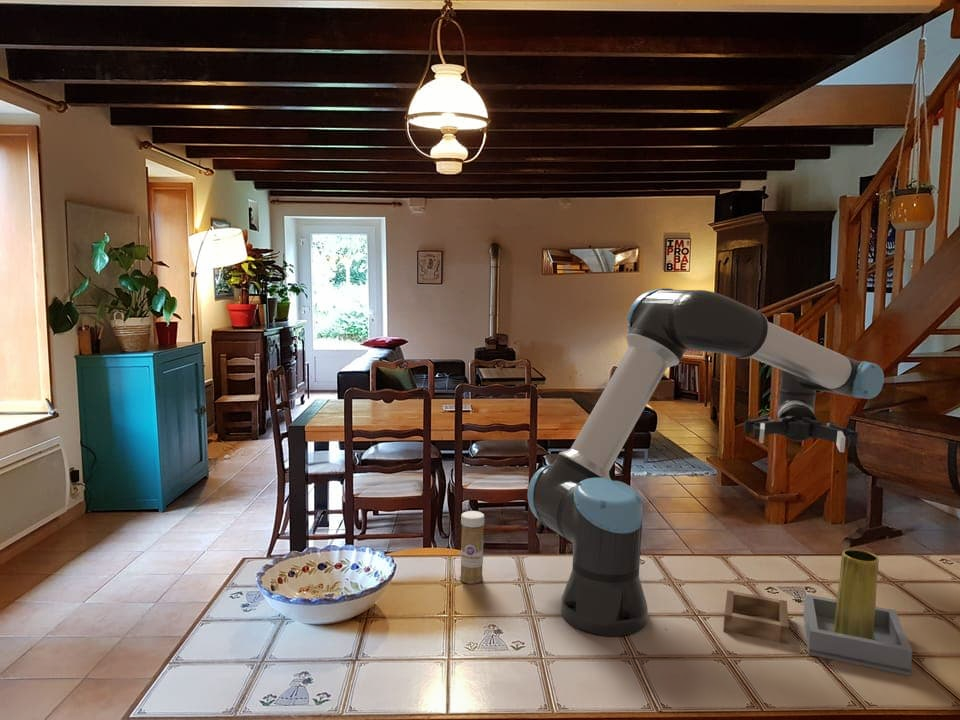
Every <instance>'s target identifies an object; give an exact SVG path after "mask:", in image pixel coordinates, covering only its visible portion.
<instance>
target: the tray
mask: <svg viewBox="0 0 960 720" xmlns="http://www.w3.org/2000/svg"><path fill="white" fill-rule="evenodd" d="M836 603H837V599H834V598H829V597H823V596H817V595H811V594H806V593H805V594H804V606H803V621H804V622H805V623H804V622H803V623H804V630H806V631H805V639H806V644H807V645H806V646H807V653H808V655H809V656H814V657H818V658H823V659H828V660H834V661H838V662H843V663H847V664H853V665H857V666H861V667H866V668H870V669H871V668H872V669H876V670H881V671H885V672H891V673H895V674H900V675H904V676H911V670H912V661H913V649H912V646H911V644H910V641H909V639H908V637H907V634H906V632H905V630H904V627H903V625H902V621H901V619H900V618H899V615H898V613H897V610H896V609H890V608H886V607H885V608H884V607H879V606H876V607H875V618H874V639H875V640H871V639H866V638H861V637H856V636H851V635H845V634H840V633H835V632H833V627H834V624H835V612H836Z"/></svg>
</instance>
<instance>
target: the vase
mask: <svg viewBox="0 0 960 720" xmlns="http://www.w3.org/2000/svg"><path fill="white" fill-rule="evenodd" d="M879 559H880V558H879V557H878V555H876V554H874V553H872V552H870V551H866V550H863V549H856V548H848V549H847V548H846V549H844V550H843V551H842V553H841V560H840V570H839V571H840V572H839V578H838V579H839V581H838V582H839V583H838V588H837V589H838V590H837V595H836V596H837V597H836V600H837V603H836V612H835V624H834V627H833V632H835V633H840V634H845V635H851V636H856V637H861V638H866V639H871V640H875V639H874V618H875V607H877V606H876V604H877V603H876V602H877V586H878V585H877V584H878V574H879Z"/></svg>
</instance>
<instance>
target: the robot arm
mask: <svg viewBox="0 0 960 720" xmlns="http://www.w3.org/2000/svg"><path fill="white" fill-rule="evenodd" d="M627 321H628V324H627V329H628V332H627V334H626V336H625V339H626V342H627V346H628V347H627V350H626V351H625V353H624V355H623V356H622V358H621V360H620V362H619V363H618V365H617V367H616V369H615V370H614V372H613V374H612V375H611V377H610V380H609V381H608V383H607V385H606V386H605V388H604V390H603V392H602V393H601V395H600V397H599V398H598V400H597V402H596V404H595V405H594V407H593V409H592V410H591V411H590V412H591V413H590V414H589V415H588V418H587V420H586V421H585V423H584V425H582V428H581V430H580V431H579V433H578V434H577V437H576V439H575V440H574V442H573V443H572V445H571V447H570V448H569V449H568V450H564V451H560V452H559V453H558V455H556V458H555V459H554V461H553V463H552V464H547V465H545V466H544V467H543V466H542V467H541V468H539V469H538V470H537V471H535V473H534V474H533V475H532V477H531V479H530V482H529V483H528V488H527V500H528V501H527V503H528V506H529V509H530V511H531V513H532V515H534V517H535V518H536V519H537V520H539V521H540V523H541V524H542V525H543V526H544V527H547V528H548V529H550V530H552V531H554V532H555V533H557V534H558V535H560V536H561V537H563V538H565V539H566V540H567V541H569V542H571V543H572V569H571V572H570V575H569V578H568V579H567V582H566V584H565V585H566V586H565V589H564V591H563V593H562V595H561V600H560V601H561V602H560V603H561V606H560V612H561V616H562V617H563V619H564V620H565V621H566V622H567V623H568V624H570V625H571V626H572V627H574V628H576V629H577V630H581V631H584V632H586V633H589V634H594V635H598V636H605V637H621V636H622V637H623V636H626V635H628V636H629V635H632V634H636V633H638V632H639V631H641V630H642V629H644V628H645V626H646V625H647V622H648V613H649V609H648V608H649V607H648V604H647V600H646V597H645V593H644V589H643V586H642V583H641V579H640V563H641V549H642V547H641V546H642V532H643V520H644V513H643V501H642V498H641V495H640V494H639V493H638V491H637V490H636V489H635V488H633V487H632V486H631V485H628V484H627V483H625V482H623V481H619V480H612V478H611V477H610V470H611V469H612V467H613V465H614V464H615V462H616V460H617V458H618V457H619V454H620V453H621V451H622V450H623V447H624V445H625V443H626V442H627V440H628V438H629V436H630V434H631V433H632V431H633V429H634V428H635V425H636V423H637V422H638V421H639V419H640V417H641V415H642V414H643V412H644V410H645V408H646V406H647V405H648V402H650V399H651V398H652V396H653V394H654V392H655V390H656V389H657V387H658V385H659V383H660V381H661V379H662V378H663V376H664V374H665V372H666V371H667V369H668V368H671V367H675V366H678V365H679V363H680V362H681V360H682V358H683V357H684V355H685V353H686V351H687V350H688V351H695V352H704V353H707V352H708V353H715V354H723V355H727V356H731V357H733V358H736V359H740V360H741V359H742V360H743V359H744V360H745V359H749V358H751V359H753V360H756V361H758V362H761V363H762V364H763V363H764V364H765V365H768V366H771V367H773V368H775V369H779V370H780V379H779V380H780V381H779V392H778V401H777V406H776V416H777V418H776V419H775V420H773V419H772V417H770V416H769V415H767V414H766V415H763V416H760V417H758V418H753V419H747V420H744V428H743V433H744V434H747V435H749V434H753V435H752V437H753V439H756V440H758V443H759V444H764V440H765V435H779V436H784V437H785V438H786V439H788V440H791V441H792V442H802V441H803V442H805V441H807V440H809V439H814V440H816V439H818V440H819V439H821V440H826V441H830V442H833V443H834V444H836V447H837V450H838V451H839V453H845V447H849V446H850V445H851V446H858V444H859V434H860V432H858V431H857V430H856V431H855V430H852V429H850V428H849V427H844V426H841V425H838V424H837V423H835V422H833V421H832V422H831V421H830V422H828V423H826V425H825V424H824V425H823V423H822V422H821V421H818V419H817V416H816V414H815V404H816V396H817V395H816V393H817V391H818V392H819V391H820V392H824V393H825V392H826V393H832V394H836V395H842V396H847V397H852V398H855V399H866V400H870V399H871V400H872V399H874V398H875V397H877V396H878V395H879V394H880V393H881V391H882V389H883V386H884V383H885V374H884V371H883V368H881V367H880V365H878V364H877V363H874V362H873V363H872V362H869V361H866V360H862V361H860V360H856V359H853V358H851V357H849V356H846V355H843V354H841V353H839V352H837V351H834V350H832V349H830V348H827V347H825V346H823V345H821V344H819V343H816V342H814V341H812V340H811V339H807V338H806V337H803V336H801V335H798V334H797V333H794V332H792V331H790V330H788V329H785V328H783V327H781V326H779V325H776V324H774V323H773V322H770V321H768V319H767V317H766V316H765V314H764V313H762V312H761V311H759V310H757V309H754V308H752V307H750V306H747V305H745V303H744V304H743V303H741V302H739V301H737V300H735V299H733V298H730V297H729V296H726V295H724V294H721V293H718V292H715V291H710V290H705V289H673V288H658V289H652V290H648V291H645V292H643V293H642V294H640V295H639V296H638V297H637V298H636V299H635V300H634V301H633V303H632V305H631V306H630V308H629V310H628V314H627Z"/></svg>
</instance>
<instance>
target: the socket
mask: <svg viewBox="0 0 960 720" xmlns="http://www.w3.org/2000/svg"><path fill="white" fill-rule="evenodd" d="M733 611H737V612H743V613H748V614H754V615H758V616H763V617H769V618H774V619H778V621H775V620H771V619H766V618H762V617H761V618H760V617H756V616H751V615H745V614H739V613H737V612H736V613H734V612H733ZM788 612H789V611H788V601H787V600H784V599H779V598H772V597H767V596H762V595H757V594H751V593H746V592H739V591H735V590H734V591H733V590H728V589H727V590H726V599H725V608H724V615H723V616H724V618H723V632H726V633H731V634H736V635H740V636H744V637H745V636H746V637H750V638H753V639H760V640H765V641H769V642H775V643H780V644H785V645H788V642H789V630H790V625H789V613H788Z"/></svg>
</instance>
